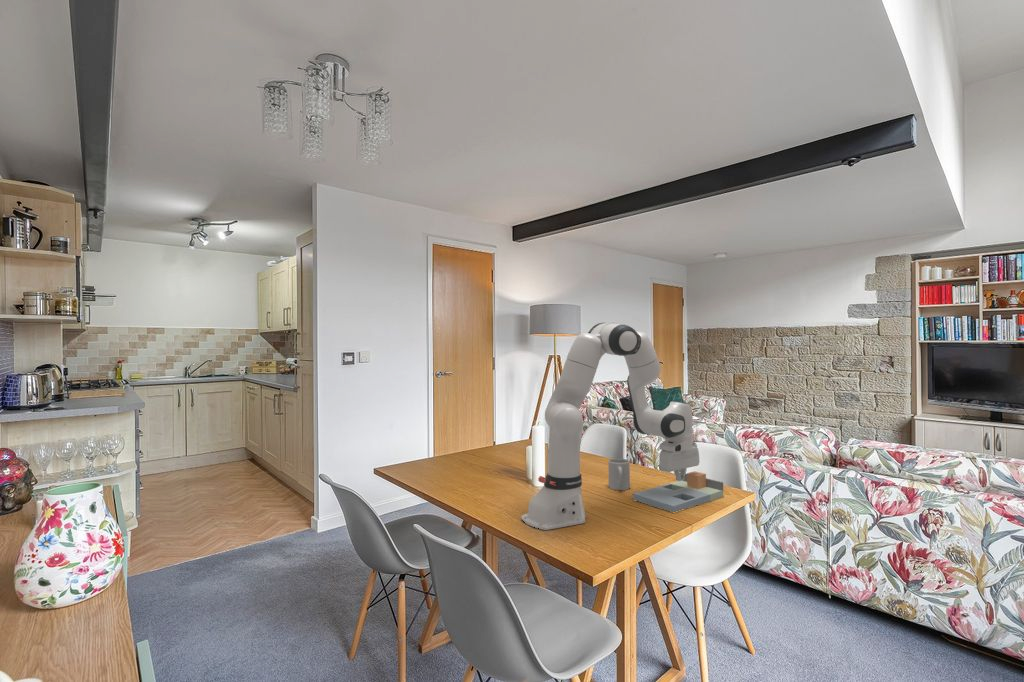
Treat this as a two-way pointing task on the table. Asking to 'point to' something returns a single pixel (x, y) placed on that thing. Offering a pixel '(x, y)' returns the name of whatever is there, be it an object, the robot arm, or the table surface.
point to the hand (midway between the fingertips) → (680, 480)
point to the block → (696, 480)
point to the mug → (619, 474)
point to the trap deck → (680, 495)
